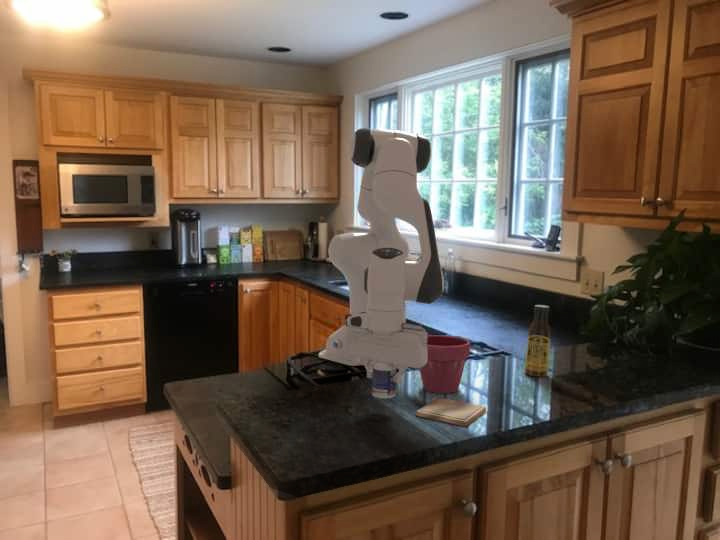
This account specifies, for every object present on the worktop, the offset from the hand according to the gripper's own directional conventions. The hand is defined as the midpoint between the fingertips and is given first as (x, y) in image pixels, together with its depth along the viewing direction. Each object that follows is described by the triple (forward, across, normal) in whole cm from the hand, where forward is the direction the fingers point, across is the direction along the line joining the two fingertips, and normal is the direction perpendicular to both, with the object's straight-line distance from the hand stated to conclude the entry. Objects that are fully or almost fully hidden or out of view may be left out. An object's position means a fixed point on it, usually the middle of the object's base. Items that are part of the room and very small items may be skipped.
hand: (384, 380), depth 137 cm
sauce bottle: (+8, -20, -52) cm, 56 cm away
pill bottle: (+4, 0, 0) cm, 4 cm away
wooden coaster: (+7, -13, -8) cm, 17 cm away
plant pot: (+8, -3, -24) cm, 25 cm away
